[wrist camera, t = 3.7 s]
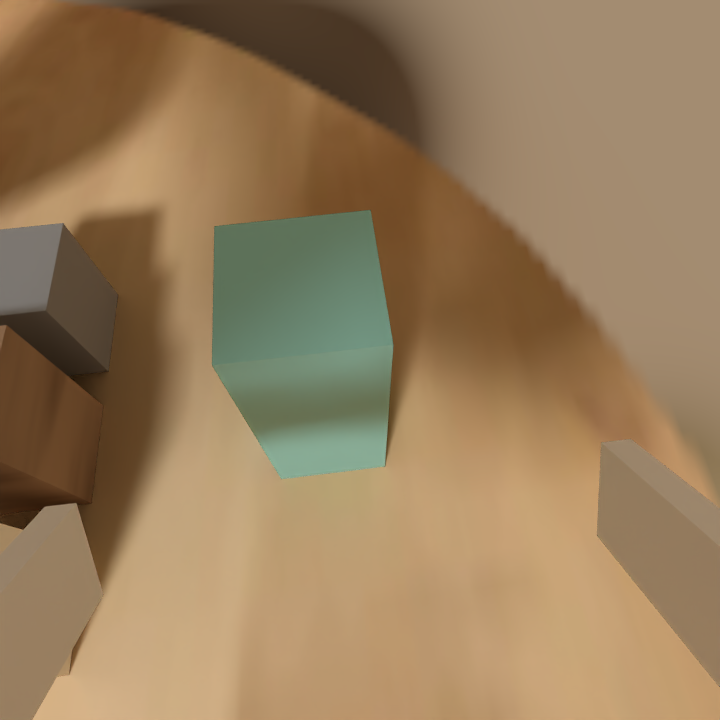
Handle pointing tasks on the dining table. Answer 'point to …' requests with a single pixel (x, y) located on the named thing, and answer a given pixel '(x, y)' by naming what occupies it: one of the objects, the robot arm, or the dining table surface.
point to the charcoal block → (56, 298)
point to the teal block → (305, 339)
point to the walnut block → (43, 431)
